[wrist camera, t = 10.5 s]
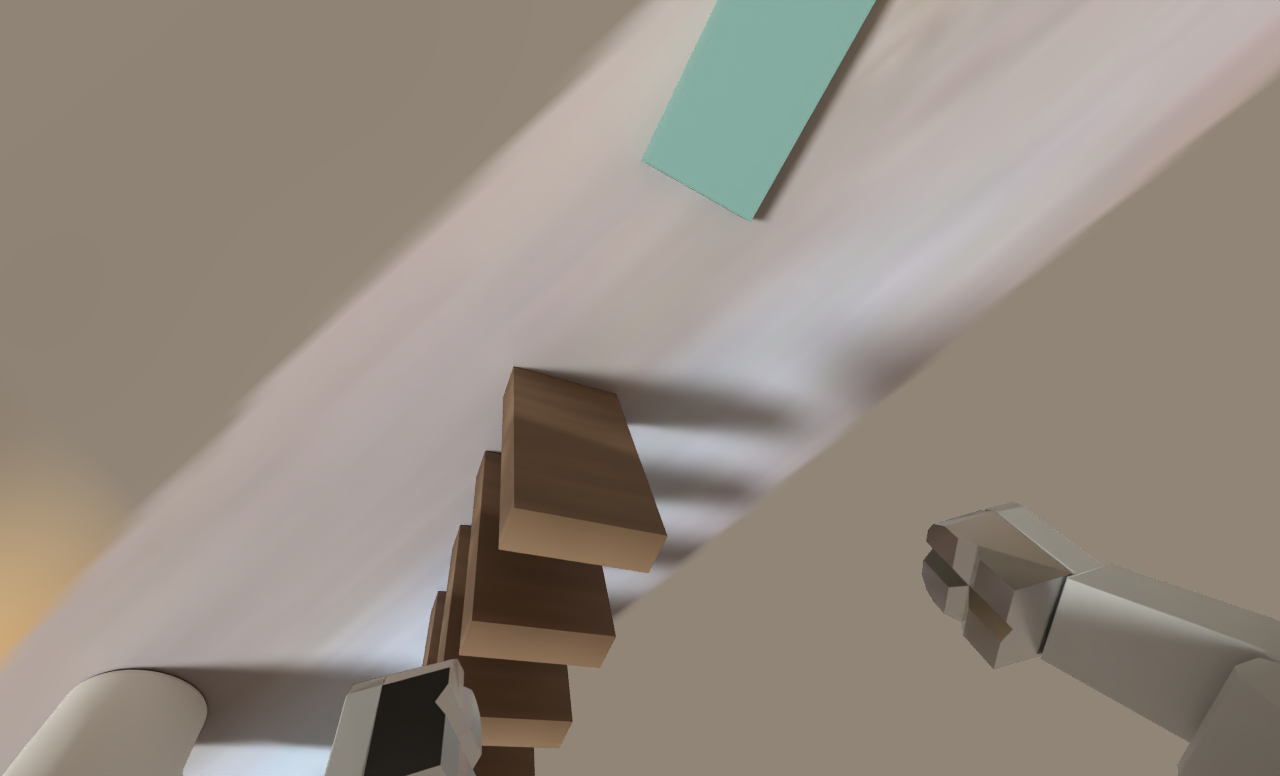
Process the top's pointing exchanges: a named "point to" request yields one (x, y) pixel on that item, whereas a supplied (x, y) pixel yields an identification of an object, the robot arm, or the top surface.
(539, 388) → the domino
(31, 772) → the mug
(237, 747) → the top surface
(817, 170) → the top surface
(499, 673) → the domino
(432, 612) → the domino
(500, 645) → the domino
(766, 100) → the domino
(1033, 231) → the top surface
